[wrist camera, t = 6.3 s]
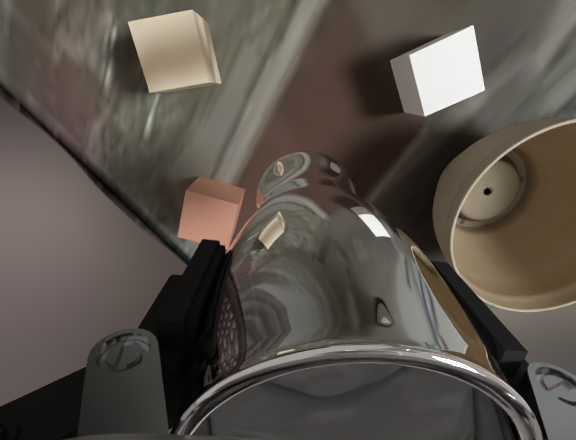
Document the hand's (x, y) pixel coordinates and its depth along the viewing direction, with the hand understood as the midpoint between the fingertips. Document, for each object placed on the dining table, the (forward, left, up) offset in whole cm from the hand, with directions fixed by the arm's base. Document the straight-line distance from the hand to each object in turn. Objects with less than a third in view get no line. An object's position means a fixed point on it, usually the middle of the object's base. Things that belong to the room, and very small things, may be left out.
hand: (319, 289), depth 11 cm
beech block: (-8, -11, -23) cm, 27 cm away
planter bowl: (+1, +20, -23) cm, 31 cm away
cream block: (-9, +11, -23) cm, 27 cm away
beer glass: (0, 0, -9) cm, 9 cm away
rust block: (+6, -8, -23) cm, 26 cm away
